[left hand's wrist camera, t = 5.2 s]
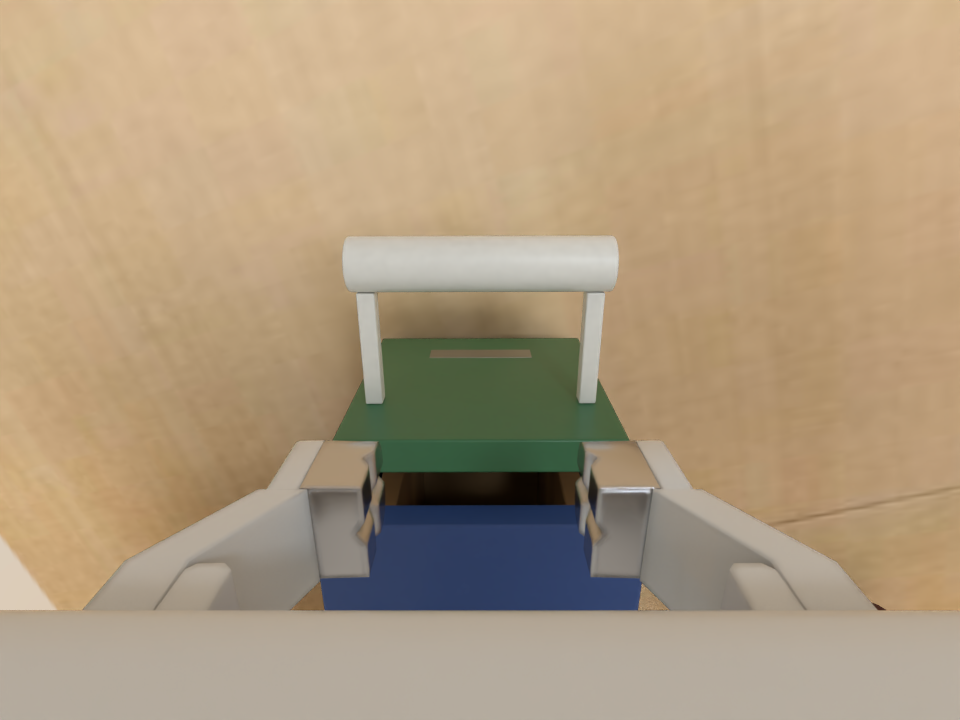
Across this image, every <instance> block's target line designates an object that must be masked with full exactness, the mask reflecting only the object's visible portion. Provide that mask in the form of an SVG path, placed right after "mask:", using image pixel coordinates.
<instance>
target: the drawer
mask: <svg viewBox="0 0 960 720" xmlns="http://www.w3.org/2000/svg"><path fill="white" fill-rule="evenodd" d="M618 267H619V252H618V245H617V241H616V238H615V237H614V236H612V235H585V236H348V237H346V239H345V241H344V245H343V252H342V268H343V276H344V281H345V284H346V287H347V289H348V291H350V292H357V294H356V300H357V311H358V322H359V333H360V344H361V355H362V365H363V376H364V379H363V381H362V383H361V385H360V387H359V389H358V391H357V393H356V395H355V397H354V399H353V401H352V403H351V405H350V407H349V409H348V411H347V413H346V415H345V417H344V419H343V421H342V423H341V425H340V427H339V429H338V431H337V433H336V435H335V437H334V439H333V441H379V442H380V445H381V449H382V458H383V463H382V467H381V470H380V472H383V474H382V478H381V479H382V480H383V481H384V482H385V505H575V482H576V481H577V480H578V479H579V478H580V474H579V472H580V471H579V467H578V464H577V457H578V448H579V444H580V442H599V441H630V440H629V438H628V436H627V434H626V432H625V430H624V428H623V426H622V424H621V422H620V420H619V419H618V417H617V415H616V413H615V411H614V409H613V407H612V405H611V403H610V401H609V399H608V397H607V395H606V393H605V391H604V389H603V387H602V385H601V383H600V381H599V379H598V369H599V357H600V346H601V335H602V323H603V312H604V300H605V293H604V292H610V291H612V290H613V289H614V287H615V284H616V280H617V275H618ZM377 292H584V297H583V311H582V325H581V338H580V342H579V340H578V339H577V338H465V339H383V341H382V343H381V335H380V322H379V309H378V296H377Z"/></svg>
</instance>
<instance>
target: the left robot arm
mask: <svg viewBox="0 0 960 720" xmlns="http://www.w3.org/2000/svg"><path fill="white" fill-rule="evenodd" d="M382 463H383V458H382V449H381V445H380V442H379V441H329V440H328V441H325V440H301V441H297V442H296V443H295V445H294V446H293V448H292V449H291V451H290V452H289V454H288V456H287V457H286V459H285V460H284V462H283V464H282V465H281V467H280V468H279V470H278V472H277V473H276V475H275V476H274V478H273V479H272V481H271V483H270V484H269V486H268V487H267V489H258V490H256V491H254V492H252V493H250V494H248V495H246V496H245V497H243V498H241V499H239V500H237V501H235V502H233V503H232V504H230V505H228V506H226V507H224V508H222V509H220V510H218V511H217V512H215V513H213V514H211V515H209V516H207V517H205V518H204V519H202V520H200V521H198V522H196V523H194V524H192V525H191V526H189V527H187V528H185V529H183V530H181V531H179V532H178V533H176V534H174V535H172V536H170V537H168V538H166V539H164V540H163V541H161V542H159V543H157V544H155V545H153V546H151V547H150V548H148V549H146V550H144V551H142V552H140V553H138V554H137V555H135V556H133V557H131V558H129V559H127V560H125V561H124V562H123V563H122V565H121V566H120V567H119V568H118V569H117V570H116V572H115V573H114V574H113V575H112V576H111V577H110V578H109V580H108V581H107V582H106V583H105V584H104V585H103V587H102V588H101V589H100V590H99V591H98V592H97V594H96V595H95V596H94V597H93V598H92V599H91V601H90V602H89V603H88V604H87V605H86V606H85V607H84V609H83V610H0V720H960V610H877V609H876V608H875V606H874V605H873V604H872V603H871V602H870V601H869V599H868V598H867V597H866V596H865V595H864V594H863V592H862V591H861V590H860V589H859V588H858V587H857V585H856V584H855V583H854V582H853V581H852V580H851V578H850V577H849V576H848V575H847V574H846V572H845V571H844V570H843V569H842V568H841V567H840V565H839V564H838V563H837V562H836V561H834V560H832V559H830V558H829V557H827V556H825V555H823V554H821V553H819V552H817V551H816V550H814V549H812V548H810V547H808V546H806V545H804V544H803V543H801V542H799V541H797V540H795V539H793V538H791V537H790V536H788V535H786V534H784V533H782V532H780V531H778V530H777V529H775V528H773V527H771V526H769V525H767V524H765V523H764V522H762V521H760V520H758V519H756V518H754V517H752V516H751V515H749V514H747V513H745V512H743V511H741V510H739V509H738V508H736V507H734V506H732V505H730V504H728V503H726V502H725V501H723V500H721V499H719V498H717V497H715V496H713V495H712V494H710V493H708V492H706V491H704V490H702V489H693V488H692V486H691V484H690V483H689V481H688V480H687V478H686V477H685V475H684V474H683V472H682V470H681V469H680V467H679V466H678V464H677V463H676V461H675V459H674V458H673V456H672V455H671V453H670V452H669V450H668V448H667V447H666V445H665V444H664V442H662V441H660V440H643V441H599V442H580V444H579V448H578V457H577V464H578V467H579V471H580V474H581V477H580V478H579V479H578V480H577V481H576V482H575V515H576V522H577V526H578V531H579V533H580V534H582V535H583V536H584V548H583V550H584V554H585V558H586V561H587V565H588V569H589V573H590V576H591V577H603V578H640V581H641V582H642V583H643V584H644V585H645V586H646V587H647V588H648V589H649V590H650V591H651V592H652V593H653V594H654V595H655V596H656V597H657V598H658V599H659V600H660V601H661V602H662V603H663V604H664V605H665V606H666V607H667V608H668V609H669V610H291V609H292V608H293V607H294V606H295V605H296V604H297V603H298V602H299V601H300V600H301V599H302V598H303V597H304V596H305V595H306V594H307V593H308V592H309V591H310V590H311V589H312V588H313V587H315V586H316V585H317V584H318V583H319V582H320V578H356V577H369V576H370V573H371V569H372V565H373V561H374V558H375V554H376V550H377V549H376V536H377V535H378V534H380V533H381V530H382V526H383V522H384V513H385V482H384V481H383V480H382V479H381V478H380V477H379V474H380V470H381V467H382Z"/></svg>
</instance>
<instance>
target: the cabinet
mask: <svg viewBox="0 0 960 720" xmlns="http://www.w3.org/2000/svg"><path fill="white" fill-rule="evenodd" d="M382 474H383V472H380V474H379V477H380V478H382ZM579 474H580V472H579ZM580 477H581V474H580ZM583 548H584V536H583V535H582V534H580V533H579V531H578V526H577V522H576V515H575V505H385V513H384V522H383V526H382V530H381V533H380V534H378V535H377V536H376V549H377V550H376V554H375V558H374V561H373V565H372V569H371V573H370V576H369V577H356V578H320V582H321V589H322V595H323V602H324V609H325V610H638V606H639V599H640V592H641V585H642V582H641V581H640V578H603V577H591V576H590V573H589V569H588V565H587V561H586V558H585V554H584V550H583Z"/></svg>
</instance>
